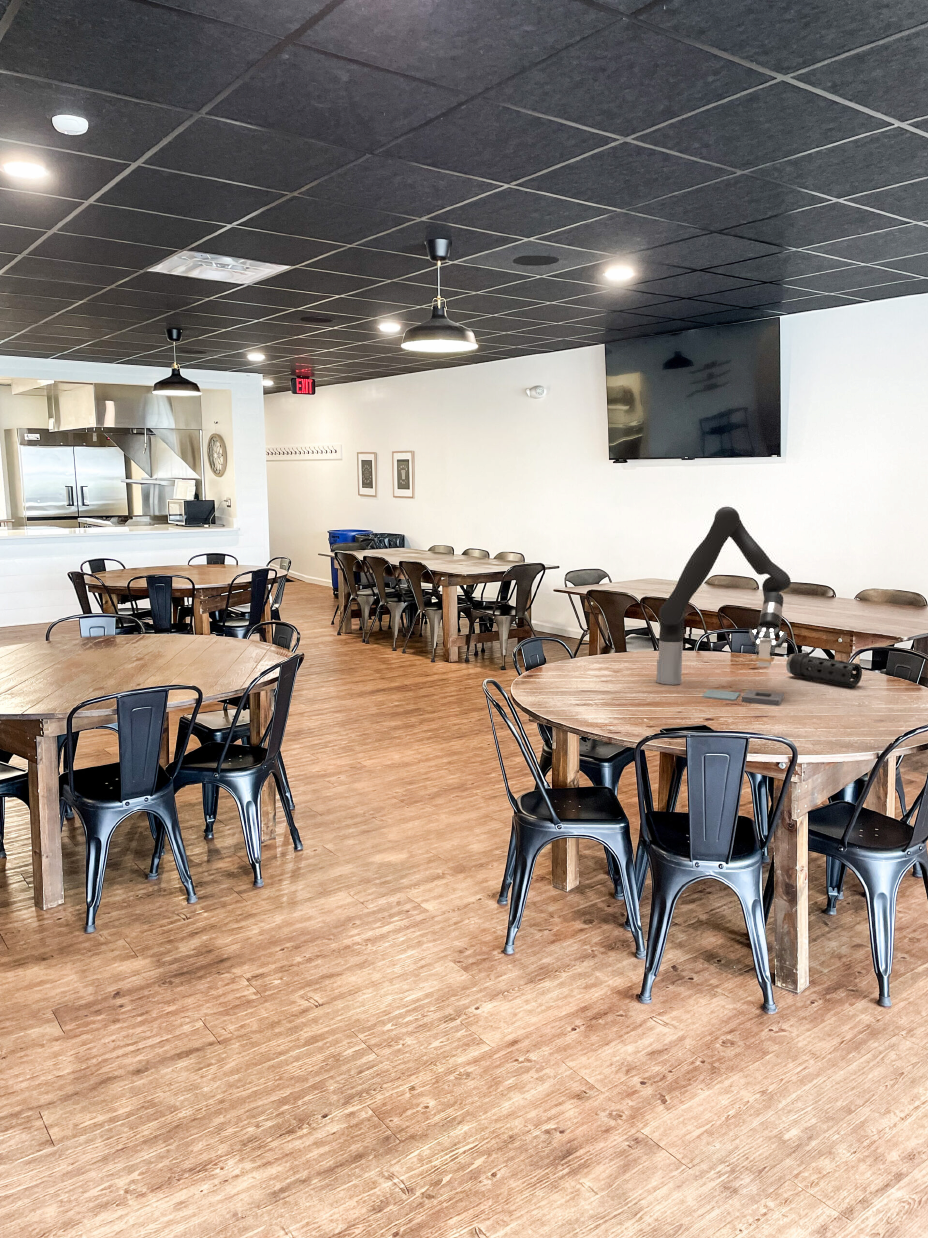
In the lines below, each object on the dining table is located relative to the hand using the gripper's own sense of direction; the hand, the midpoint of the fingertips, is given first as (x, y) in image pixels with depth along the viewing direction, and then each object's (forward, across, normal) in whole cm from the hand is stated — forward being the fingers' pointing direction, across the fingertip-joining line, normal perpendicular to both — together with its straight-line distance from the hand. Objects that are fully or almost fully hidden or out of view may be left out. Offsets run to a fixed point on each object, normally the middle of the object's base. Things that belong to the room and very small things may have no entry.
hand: (764, 654), depth 317 cm
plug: (+2, 0, +5) cm, 5 cm away
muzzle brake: (-18, +17, +44) cm, 50 cm away
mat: (+11, -15, +14) cm, 23 cm away
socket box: (+11, 0, +14) cm, 18 cm away
